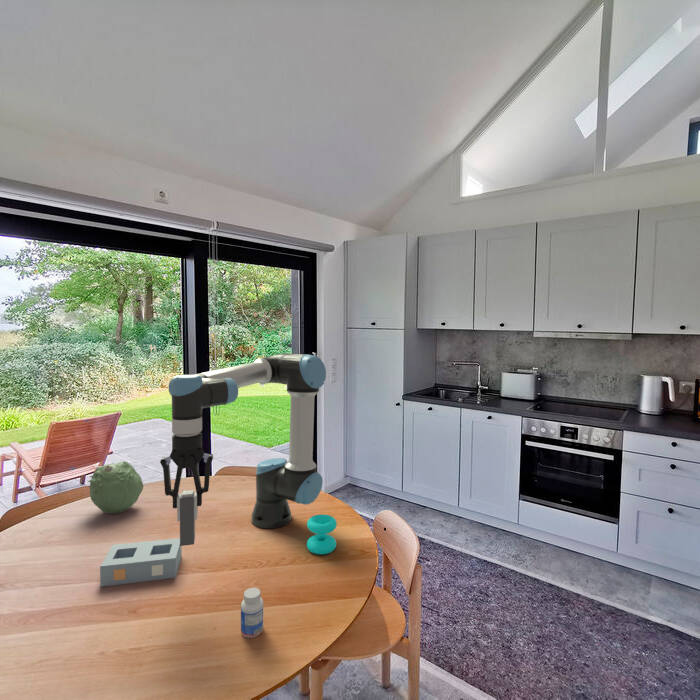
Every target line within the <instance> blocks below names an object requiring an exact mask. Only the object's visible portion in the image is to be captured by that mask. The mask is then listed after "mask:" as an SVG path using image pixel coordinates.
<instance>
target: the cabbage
mask: <svg viewBox="0 0 700 700" xmlns="http://www.w3.org/2000/svg"><path fill="white" fill-rule="evenodd" d="M92 474H93V475H92ZM92 474H91V476H89V478H90V480H88V481H87V482H88V483H89V496H90V500H91V502H92V503H93V505H94V506H96V507H97V508H98V509H99V510H101V511H102V512H104V513H107V514H111V515H112V514H113V515H115V514H120V513H123V512H125V511H127V510H129V509H131V508H132V506H134V505H135V503H137V501H138V499H139V497H140V496H141V494H142V492H143V489H144V482H143V481H142V477H141V475H139V473H138V472H137V471H136V469H135V468H134V466H133V465H132V464H130V463H129V462H127V461H120V462H117V463H110V464H105V465H101V466H97V467H95V469H94V472H93V473H92Z"/></svg>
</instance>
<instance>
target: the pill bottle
mask: <svg viewBox="0 0 700 700" xmlns="http://www.w3.org/2000/svg"><path fill="white" fill-rule="evenodd" d="M263 630H264V600H263V598H262V597H261V590H260V589H259V588H257V587H250V588H247V589H246V590H244V592H243V600H242V601H241V604H240V633H241V634H242V636H243V637H245V638H248V639H249V638H256V637H258V636H259V635H261V633H263Z"/></svg>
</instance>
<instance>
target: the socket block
mask: <svg viewBox="0 0 700 700" xmlns="http://www.w3.org/2000/svg"><path fill="white" fill-rule="evenodd" d="M182 551H183V550H182V546H180V537H179V538H170V539H167V538H166V539H159V540H148V541H138V542H127V543H118V544H112V546H111V547H110V548H109V550H108V552H107V554H106V556H105V557H104V559H103V560H102V562H101V564H100V565H99V575H100V577H99V579H100V580H99V582H100V583H99V585H100V587H101V588H103V587H110V586H119V585H126V584H128V585H129V584H134V583H143V582H145V583H146V582H151V581H160V580H167V579H176V578H177V576H178V575H177V574H178V571H179V566H180V563H181V559H182Z"/></svg>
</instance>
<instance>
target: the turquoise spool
mask: <svg viewBox="0 0 700 700" xmlns="http://www.w3.org/2000/svg"><path fill="white" fill-rule="evenodd" d="M337 524H338V523H337V520H336V518H334V517H333V516H331V515H329V514H324V513H323V514H316V515H313V516H311V517H309V518H308V520H307V523H306V526H307V528H308V530H309V531H310V532H311V533H314V534H313V535H312V536H310V537H309V538H308V539H307V542H306V548H307V549H308V551H310V553H312V554H314V555H327V554H330V553H332V552H333V551H334V550H335V549H336V547H337V541H336V539H335V538H334V537H333V536H332V535H330V533H332V532H333V531H334V530H335V529H336V528H337Z"/></svg>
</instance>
